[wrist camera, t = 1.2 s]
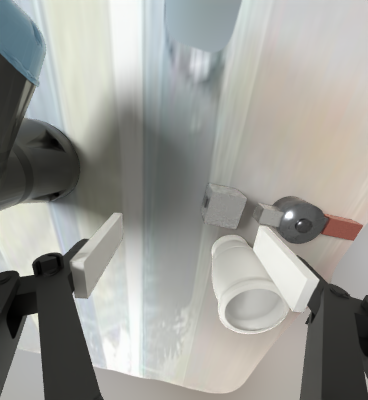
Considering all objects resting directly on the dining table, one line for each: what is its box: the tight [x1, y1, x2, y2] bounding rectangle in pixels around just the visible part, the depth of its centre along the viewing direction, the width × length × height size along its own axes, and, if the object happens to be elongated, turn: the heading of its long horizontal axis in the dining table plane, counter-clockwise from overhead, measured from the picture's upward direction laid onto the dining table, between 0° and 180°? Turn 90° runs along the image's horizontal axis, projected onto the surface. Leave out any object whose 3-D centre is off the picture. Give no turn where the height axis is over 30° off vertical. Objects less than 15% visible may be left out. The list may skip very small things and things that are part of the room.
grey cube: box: [201, 183, 247, 229], centre depth 32 cm, size 6×6×6 cm
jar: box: [211, 235, 289, 334], centre depth 32 cm, size 11×10×15 cm
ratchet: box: [253, 196, 363, 244], centre depth 34 cm, size 22×8×6 cm, turn 78°
